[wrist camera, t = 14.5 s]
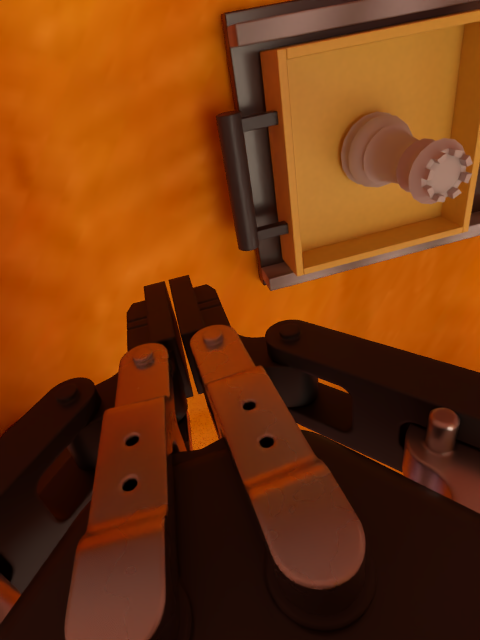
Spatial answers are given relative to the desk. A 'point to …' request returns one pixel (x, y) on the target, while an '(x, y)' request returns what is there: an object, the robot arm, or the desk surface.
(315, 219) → the tray
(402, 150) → the rook chess piece
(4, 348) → the desk surface
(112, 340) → the desk surface
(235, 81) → the base
